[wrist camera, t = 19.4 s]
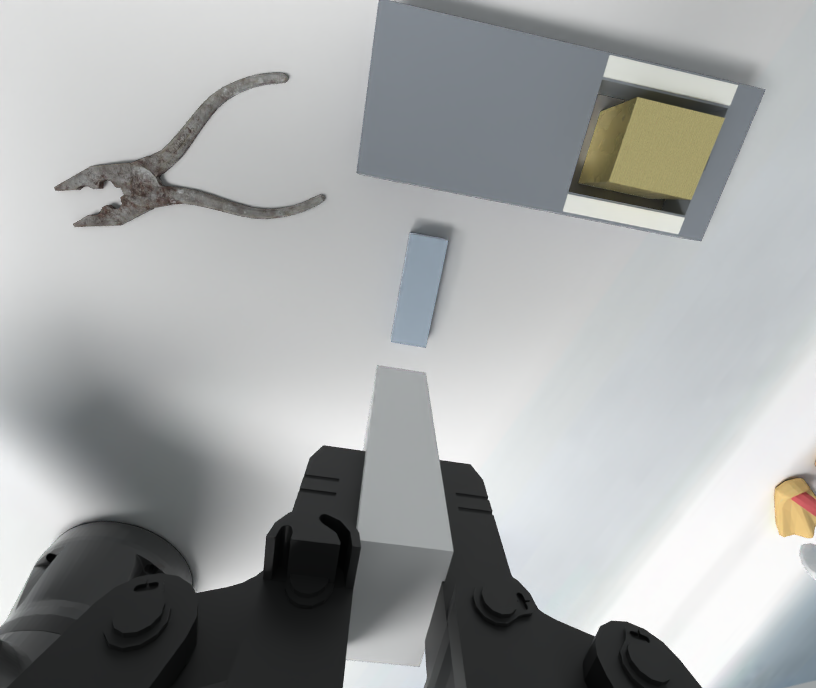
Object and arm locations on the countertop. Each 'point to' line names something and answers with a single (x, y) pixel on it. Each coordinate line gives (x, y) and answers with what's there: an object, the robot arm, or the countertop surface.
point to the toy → (797, 517)
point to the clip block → (650, 149)
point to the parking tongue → (418, 289)
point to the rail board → (524, 116)
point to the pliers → (145, 173)
